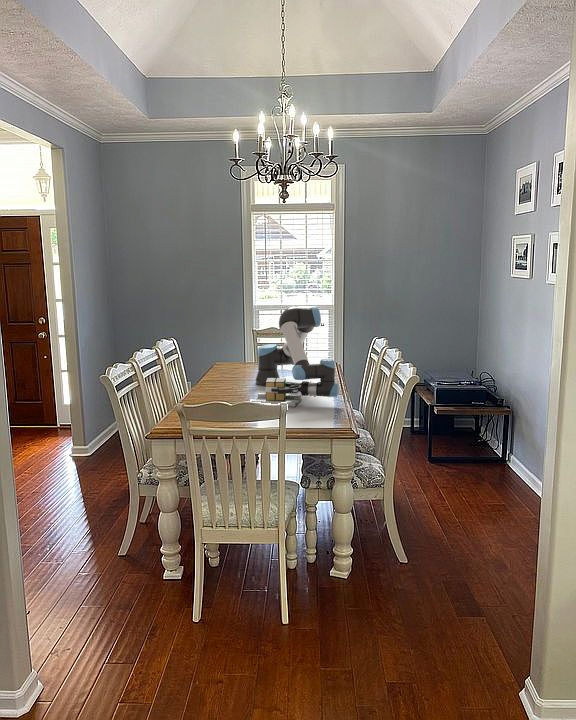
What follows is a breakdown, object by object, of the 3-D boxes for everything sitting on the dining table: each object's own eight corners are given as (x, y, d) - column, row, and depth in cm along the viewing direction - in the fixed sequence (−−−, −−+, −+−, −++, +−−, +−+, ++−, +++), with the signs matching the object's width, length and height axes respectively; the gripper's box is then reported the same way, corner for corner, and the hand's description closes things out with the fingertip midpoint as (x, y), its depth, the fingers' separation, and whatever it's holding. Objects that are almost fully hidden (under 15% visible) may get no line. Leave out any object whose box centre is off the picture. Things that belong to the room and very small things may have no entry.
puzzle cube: (267, 396, 320) (267, 377, 318) (285, 396, 319) (285, 377, 318) (265, 400, 310) (265, 381, 308) (284, 400, 310) (284, 381, 308)
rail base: (249, 405, 310) (249, 400, 309) (258, 398, 326) (258, 393, 325) (294, 407, 304) (294, 402, 304) (301, 400, 321) (301, 395, 320)
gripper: (304, 401, 299) (262, 399, 304) (313, 390, 322) (274, 389, 326) (304, 386, 298) (262, 384, 303) (313, 377, 320) (274, 375, 325)
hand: (268, 386), depth 315 cm, fingers closed on puzzle cube, 11 cm apart
